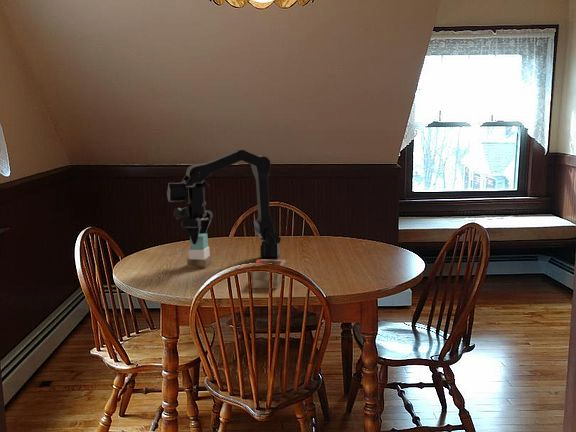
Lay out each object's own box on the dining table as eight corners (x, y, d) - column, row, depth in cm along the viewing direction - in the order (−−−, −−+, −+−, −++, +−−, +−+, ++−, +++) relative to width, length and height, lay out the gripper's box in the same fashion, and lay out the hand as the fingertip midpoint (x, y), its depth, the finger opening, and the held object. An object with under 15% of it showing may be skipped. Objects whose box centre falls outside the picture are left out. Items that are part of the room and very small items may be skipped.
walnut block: (211, 264, 227) (211, 255, 226) (205, 269, 220) (205, 259, 219) (193, 263, 228) (193, 254, 227) (187, 268, 221) (187, 259, 221)
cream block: (209, 255, 226) (209, 246, 225) (204, 259, 220) (203, 250, 219) (194, 255, 227) (194, 246, 226) (188, 259, 221) (188, 249, 220)
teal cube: (207, 246, 225) (207, 233, 224) (203, 249, 220) (203, 236, 219) (195, 246, 226) (194, 233, 225) (190, 249, 221) (190, 236, 220)
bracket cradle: (285, 275, 209) (285, 260, 208) (277, 288, 194) (277, 272, 193) (260, 274, 211) (260, 259, 210) (250, 287, 196) (249, 271, 195)
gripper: (184, 195, 230) (186, 235, 233) (166, 203, 212) (168, 246, 215) (212, 196, 228) (213, 236, 231) (196, 204, 210) (198, 247, 213)
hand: (198, 241), depth 223 cm, fingers open, 9 cm apart
